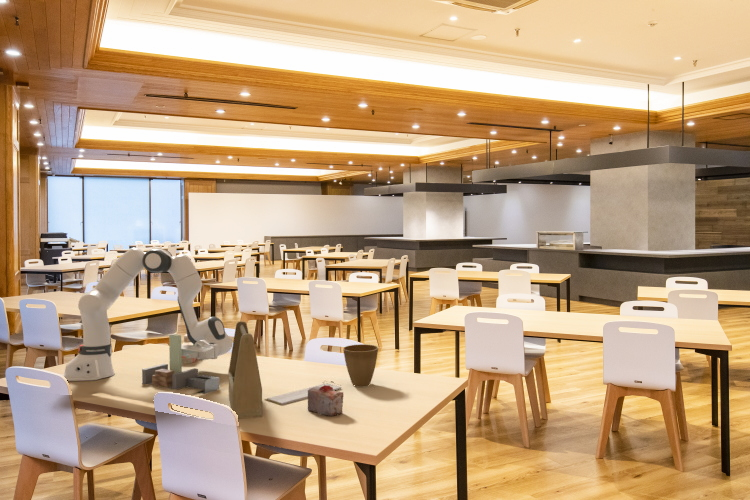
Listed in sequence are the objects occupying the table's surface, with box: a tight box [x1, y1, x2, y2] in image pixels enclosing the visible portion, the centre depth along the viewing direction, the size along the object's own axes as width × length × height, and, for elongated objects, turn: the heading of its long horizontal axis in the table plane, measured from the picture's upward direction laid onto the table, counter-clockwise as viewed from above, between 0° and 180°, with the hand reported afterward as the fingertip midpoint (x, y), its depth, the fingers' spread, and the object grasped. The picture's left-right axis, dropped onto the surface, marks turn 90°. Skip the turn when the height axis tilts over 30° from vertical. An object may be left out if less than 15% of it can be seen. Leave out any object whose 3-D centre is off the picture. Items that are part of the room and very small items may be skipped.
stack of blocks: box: [181, 333, 197, 364], centre depth 307 cm, size 21×6×12 cm, turn 6°
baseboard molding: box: [264, 380, 342, 406], centre depth 242 cm, size 31×3×12 cm
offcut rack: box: [141, 363, 199, 390], centre depth 253 cm, size 20×12×8 cm, turn 61°
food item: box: [307, 385, 344, 417], centre depth 218 cm, size 14×8×10 cm, turn 53°
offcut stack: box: [151, 369, 174, 389], centre depth 250 cm, size 9×5×6 cm, turn 61°
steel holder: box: [186, 374, 220, 395], centre depth 248 cm, size 10×8×5 cm
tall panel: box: [168, 333, 183, 374], centre depth 255 cm, size 6×2×20 cm, turn 61°
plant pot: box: [342, 344, 379, 387], centre depth 256 cm, size 15×15×16 cm
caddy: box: [228, 320, 263, 419], centre depth 225 cm, size 29×11×30 cm, turn 17°
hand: (179, 355), depth 257 cm, fingers open, 8 cm apart
